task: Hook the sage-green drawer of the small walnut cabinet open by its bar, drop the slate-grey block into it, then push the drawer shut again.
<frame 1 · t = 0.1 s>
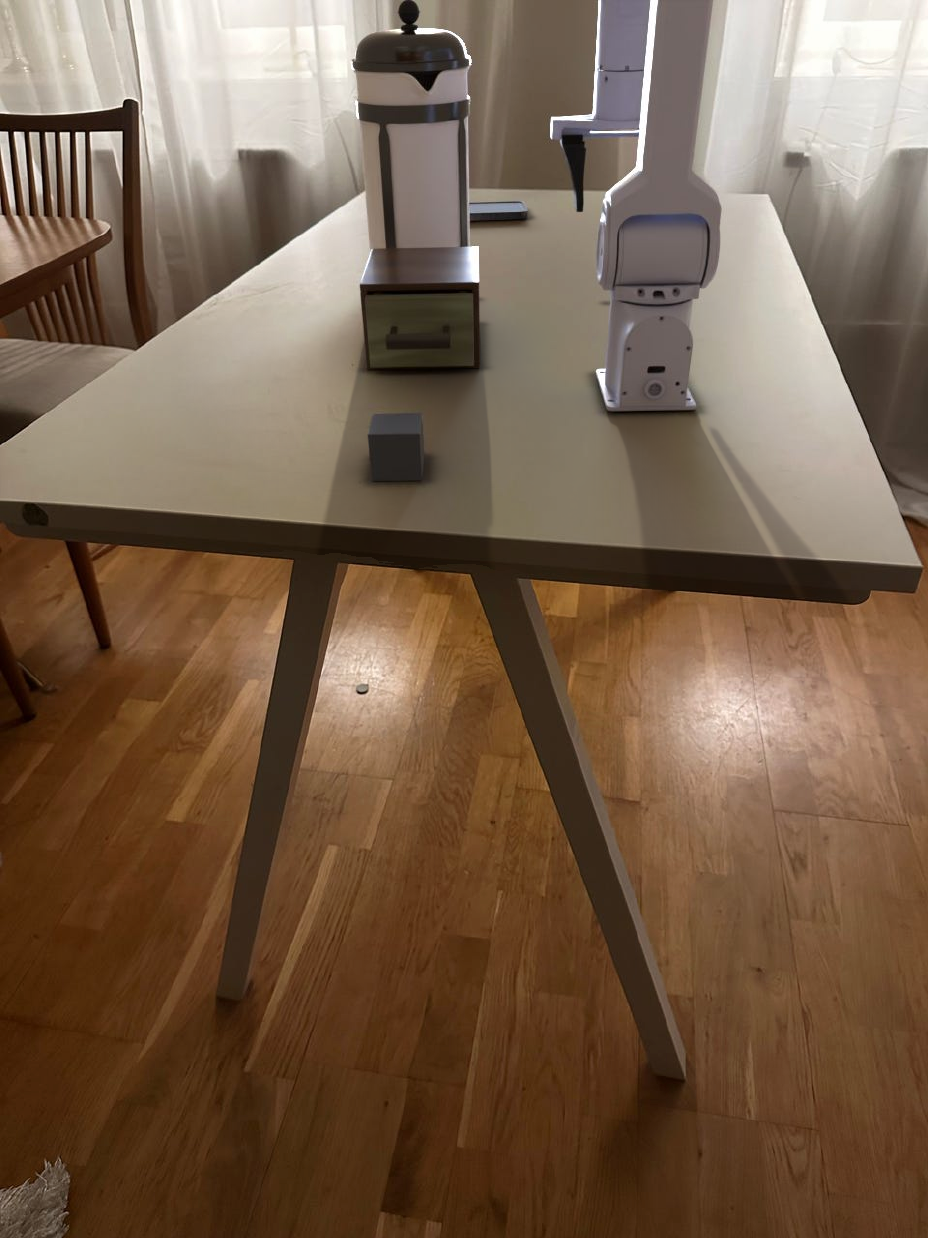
hand: (613, 209, 102), 10 cm above the table, tool pointing down, fingers open, 7 cm apart
cabinet: (426, 346, 96), on the table
coffee press: (416, 292, 113), on the table
block: (398, 469, 73), on the table
phone: (479, 215, 146), on the table
drawer: (422, 319, 90), point 4 cm above the table, slide at 0.5 cm
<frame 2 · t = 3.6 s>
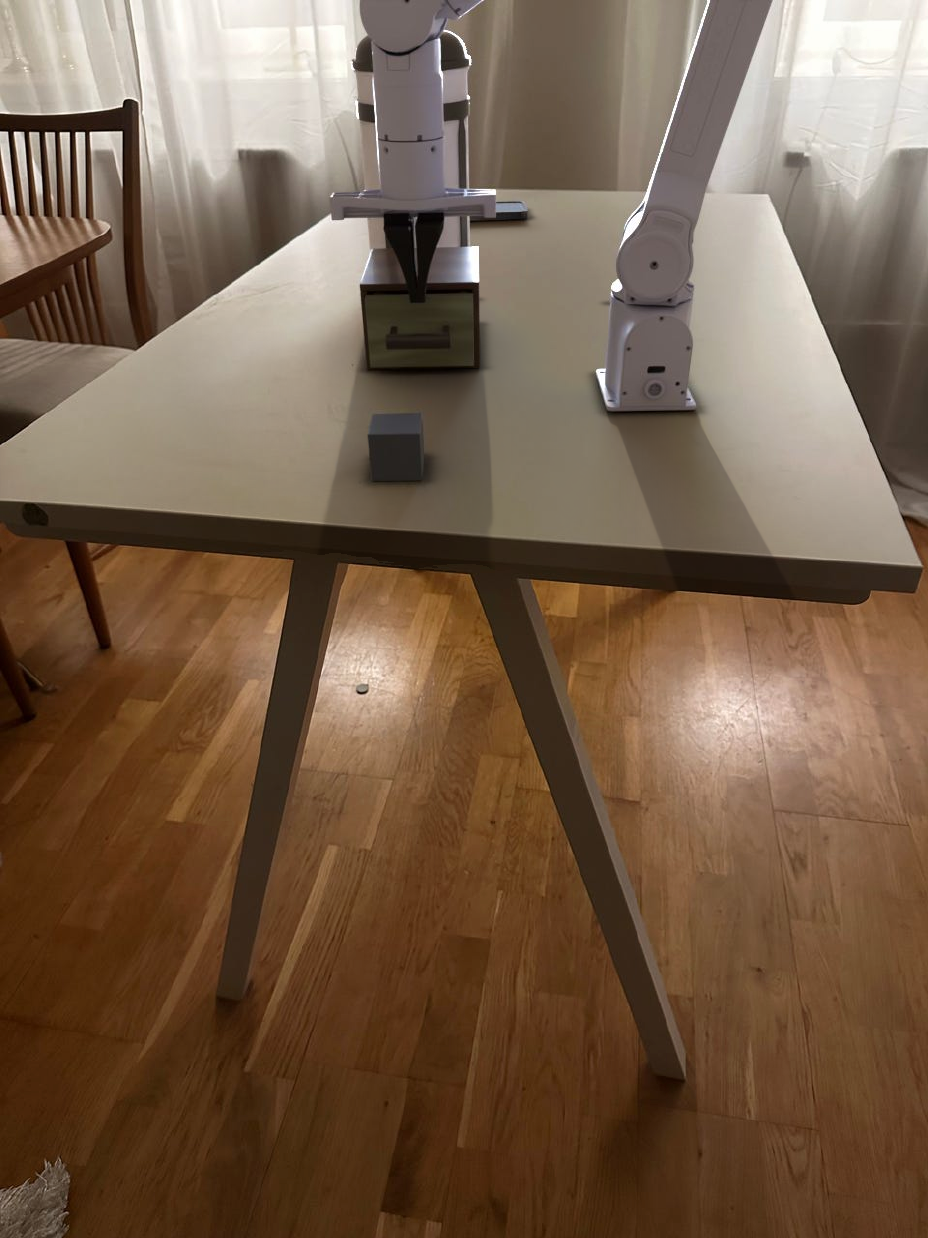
hand: (418, 299, 85), 7 cm above the table, tool pointing down, fingers closed, pressing on drawer
drawer: (422, 319, 90), point 4 cm above the table, slide at 0.5 cm, touching gripper
everything else where it was.
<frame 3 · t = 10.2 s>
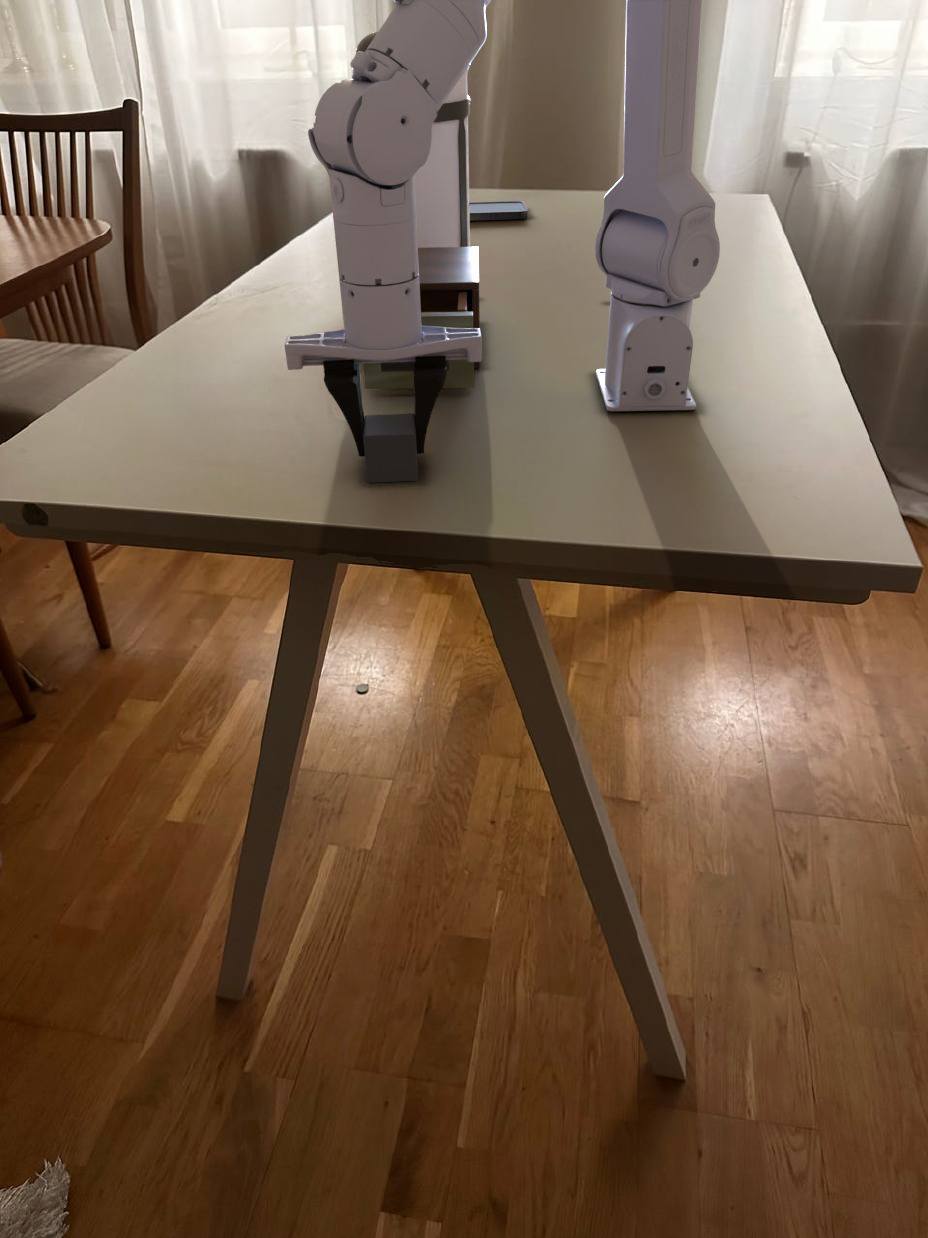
hand: (391, 449, 73), 1 cm above the table, tool pointing down, fingers closed on block, 4 cm apart
block: (392, 470, 73), on the table, touching gripper
drawer: (419, 338, 86), point 4 cm above the table, slide at 6.1 cm
everything else where it was.
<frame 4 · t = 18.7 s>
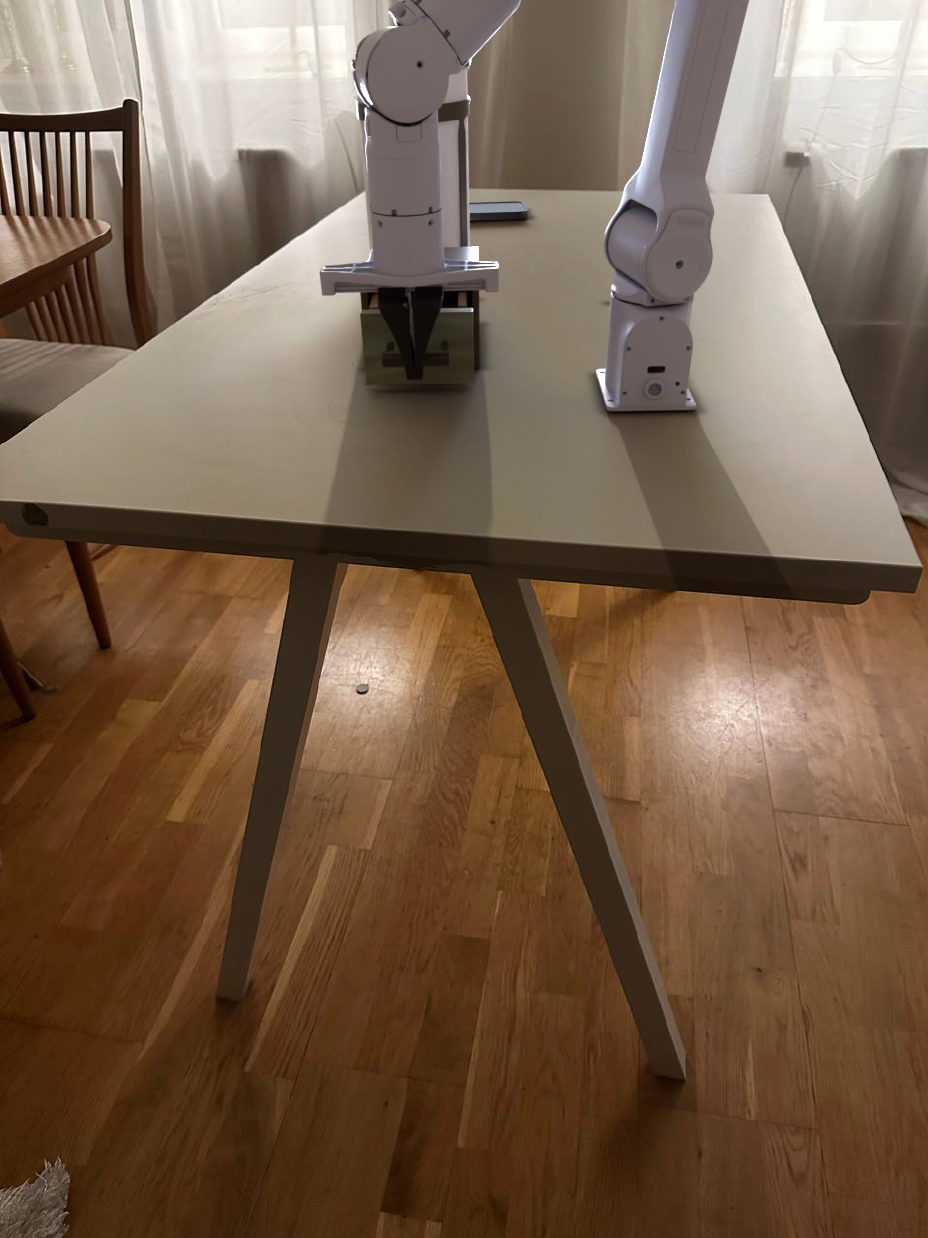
hand: (415, 375, 79), 4 cm above the table, tool pointing down, fingers closed, pressing on drawer
block: (419, 342, 86), point 4 cm above the table, tilted 90°, touching drawer
drawer: (420, 334, 87), point 4 cm above the table, slide at 5.0 cm, touching block, gripper
everything else where it was.
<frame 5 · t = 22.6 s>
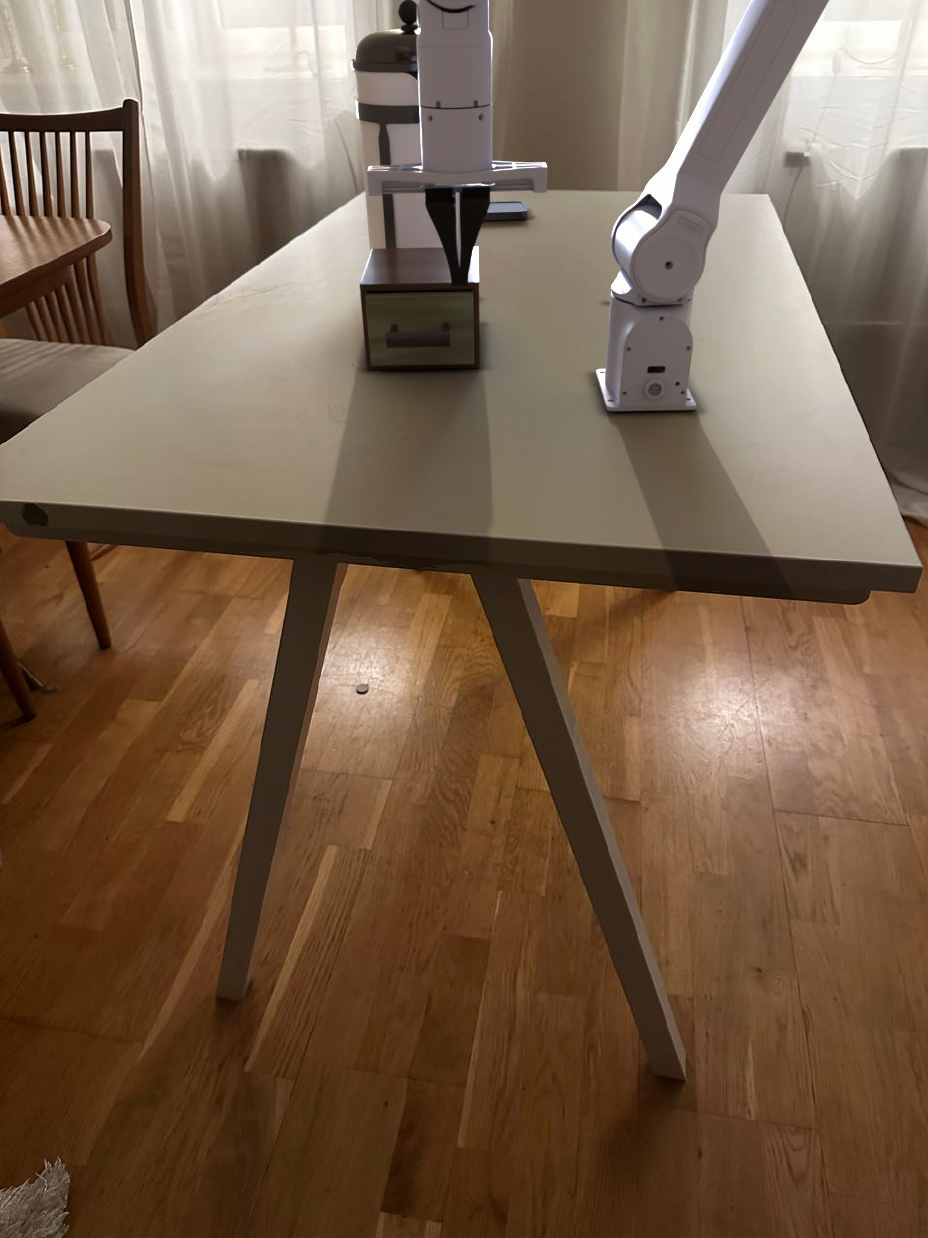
hand: (459, 282, 79), 10 cm above the table, tool pointing down, fingers closed
block: (421, 325, 90), point 4 cm above the table, tilted 90°, touching drawer
drawer: (422, 317, 91), point 4 cm above the table, slide at 0.0 cm, touching block, cabinet
everything else where it was.
at the end: drawer pulled out 6.2 cm at the most during the clip, back to where it started at the end; block inside the target area in the cabinet (4.7 cm from its centre), point 3.9 cm above the cabinet's base; drawer slide at 0.0 cm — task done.
